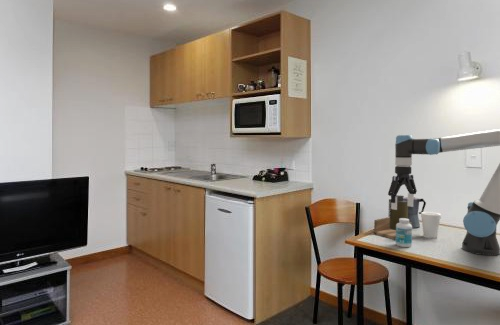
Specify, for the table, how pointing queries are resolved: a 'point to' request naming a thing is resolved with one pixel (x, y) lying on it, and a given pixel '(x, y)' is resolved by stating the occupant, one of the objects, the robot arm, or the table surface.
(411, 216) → the moka pot
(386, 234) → the holder
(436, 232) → the foam cup
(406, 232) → the pill bottle
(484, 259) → the table surface
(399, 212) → the canister
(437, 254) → the table surface
